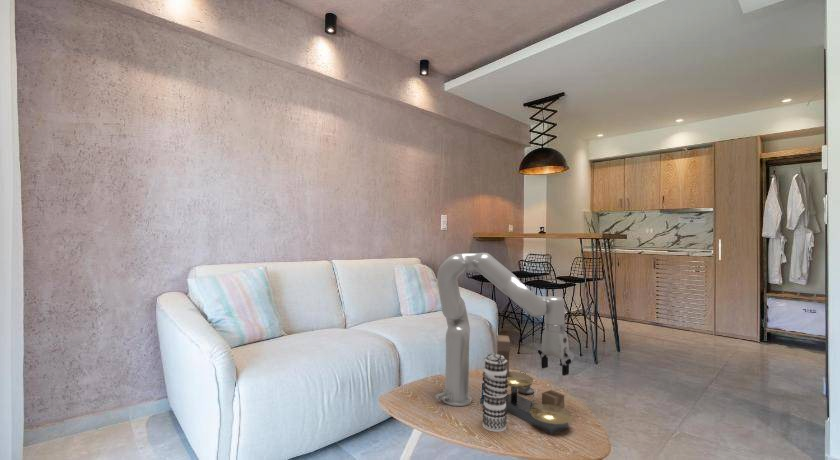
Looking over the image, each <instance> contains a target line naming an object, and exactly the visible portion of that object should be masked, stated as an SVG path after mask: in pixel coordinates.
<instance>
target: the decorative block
mask: <svg viewBox="0 0 840 460" xmlns="http://www.w3.org/2000/svg"><path fill="white" fill-rule="evenodd" d="M510 353H511V340H510V336H509V335H502V334H498V335H496V354H500V355H502V356H504V358H505V359H506V360H507V362H506V369H507V371H508V372H509V371H510Z"/></svg>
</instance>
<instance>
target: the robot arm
mask: <svg viewBox="0 0 840 460" xmlns="http://www.w3.org/2000/svg"><path fill="white" fill-rule="evenodd" d="M465 273H466V274H467V273H468V274H469V273H479V274H480V275H482V276H483V277H484V278H485V279H487V280H488V281H489V282H491V284H493V285H494V286H495V287H496V288H497V289H498V290H499V291H501V292H502V293H503V294H504V295H506V296H507V297H508V298H510V299H511V301H513V302H514V303H515V304H516V305H518V306H519V307H520V308H521V309H522V310H523V311H524V312H525V313H527V314H528V315H529V316H531V317H533V318H541V317H543V316H544V329H543V331H542V335H541V337H542V338H541V343H539V344H536V345H535V347H536V349H537V353H538V354H539V357H540V359H541V369H546V368H547V369H548V367H549V358H548V357H551V358H553V359H557V360H560V361H561V363H562V365H561V375H562V376H568V375H569V373H570V364H572V363H573V361H574V359H575V357H576V355H575V354H574V353H573V352H572V351H570V344H569V338H568V334H567V331H568V329H567V327H566V326H565V299H564V298H563V297H561V296H554V295H549V296H544V295H537V294H536V293H534V292H533V291H532V290H530V289H529V288H528V287H527V286H526V285H525V284H524V283H523V282H522V281H521V280H520V279H519V278H518V277H517V276H516V275H515V274H514V273H513V272H512V271H510V270H509V269H508V268H507V267H506V266H504V265H503V264H502V263H500V262H499V261H498V260H497V259H496V258H494V256H492V255H491V254H490V253H488V252H477V253H476V252H475V253H455V254H452V255H450V256H449V257H447V258H446V259H445V260H444V261H443V262H442V264H440V265H439V268H438V270H437V275H436V281H437V288H438V294H439V300H440V304H441V312H442V315H443V316H444V317H445V320H446V324H447V330H446V333H445V381H444V382H445V385H444V388H442V392H441V393H440V392H439V393H435V398H436V400H439V399H441V401H442V402H443V403H444V404H446V405H448V406H452V407H466V406H468V405H470V404H471V403H472V402H473V397H472V396H471V395H470V394H469V377H470V376H469V374H470V372H469V370H470V368H469V367H470V366H469V365H470V337H471V336H470V335H471V334H470V333H471V327H470V322H469V317H468V311H467V307H466V303H465V300H464V299H463V297H462V296H461V293H460V287H459V282H458V278H459V276H460V275H461V274H465Z"/></svg>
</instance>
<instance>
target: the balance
mask: <svg viewBox="0 0 840 460" xmlns="http://www.w3.org/2000/svg"><path fill="white" fill-rule="evenodd" d="M523 373H524V372H521V373H520V371H519V372H518V371H511V370H509V372H508V373H507V374H508V376H509V377H507V378H506V380H507V381H508V383H507V385H508V387H510V393H509V394H508V393H507V395H506V407H507V410H506V411H507V413H509V414H511V415H513V416H515V417H517V418H519V419H521V420H523V421H525V422H526V423H529V424H531V425H532V426H534V427H535V428H538V429H539V430H541V431H544V432H545V433H548V434H549V435H551V436H554V435H555V434H558V433H561V432H563V431H565V430H568V429H569V423H570V421H571V419H572V417H571V415H572V414H571V413H570V412H569V411H568V410H567V409H565V408H564V409H563V408H561V407H559V406H555V405H551V404H542V403H536V402H535V400H536V397H537V395H538V391H539V389H535V391H534V395H533V397H532V399H531V400H530V399H528V398H525V397H523V396H521V395H520V394H519V395H518V389H517V387H527V386H530V387H531V385H533V383H534V381H533V377H532V376H530V375H529V374H527V373H526V374H525V373H524V374H523Z"/></svg>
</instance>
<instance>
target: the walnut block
mask: <svg viewBox="0 0 840 460" xmlns="http://www.w3.org/2000/svg"><path fill="white" fill-rule="evenodd" d="M541 404H551V405H555V406H559V407H561V408H563V409H565V394H562V393H560V392H558V391H555V390H553V389H550V390H546V391H544V392H542V393H541Z"/></svg>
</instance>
